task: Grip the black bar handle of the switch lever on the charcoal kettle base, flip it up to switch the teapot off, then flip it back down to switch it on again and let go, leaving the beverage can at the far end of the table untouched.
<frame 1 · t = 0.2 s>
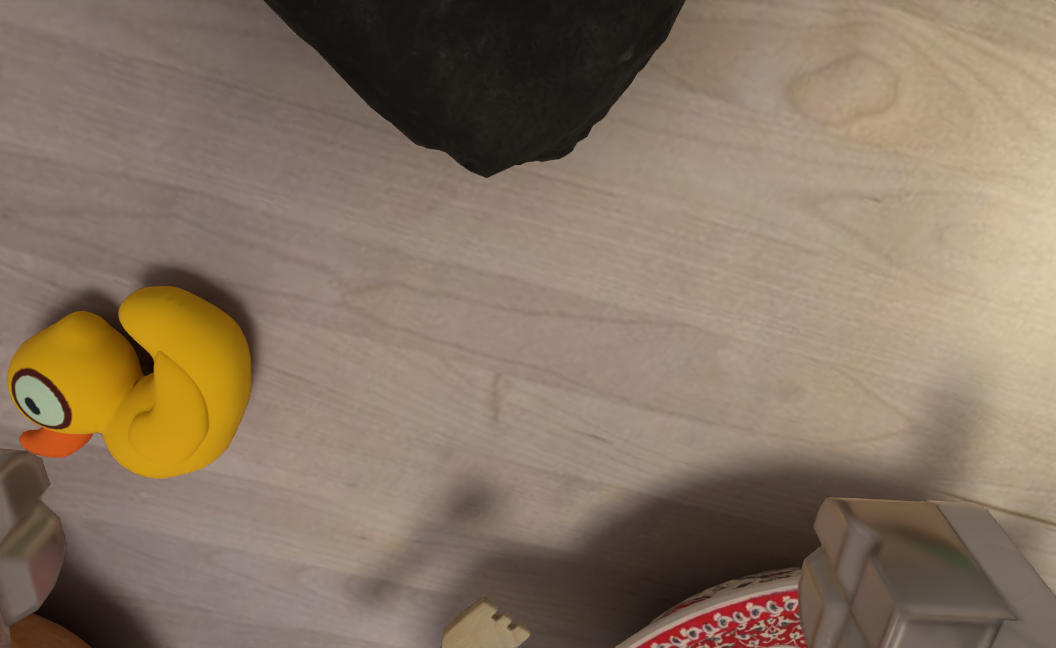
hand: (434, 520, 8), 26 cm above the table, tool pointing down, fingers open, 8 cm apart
duckling: (239, 433, 36), point 3 cm above the table
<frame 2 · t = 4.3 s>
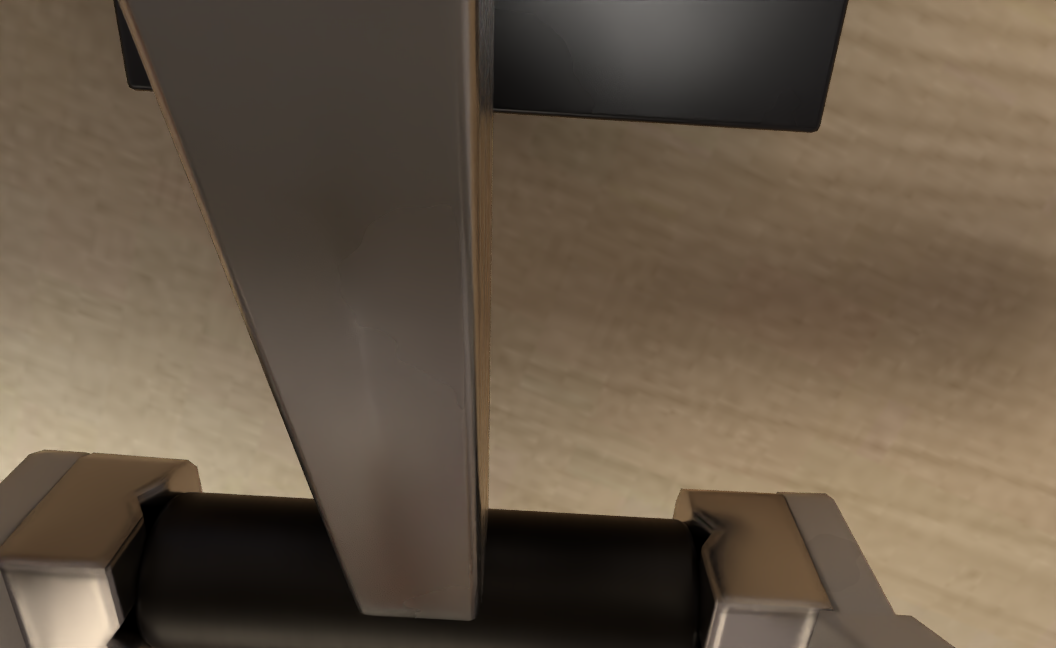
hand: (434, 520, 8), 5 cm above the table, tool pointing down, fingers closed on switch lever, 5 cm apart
switch lever: (355, 127, 3), point 8 cm above the table, hinge at -25.0°, touching gripper
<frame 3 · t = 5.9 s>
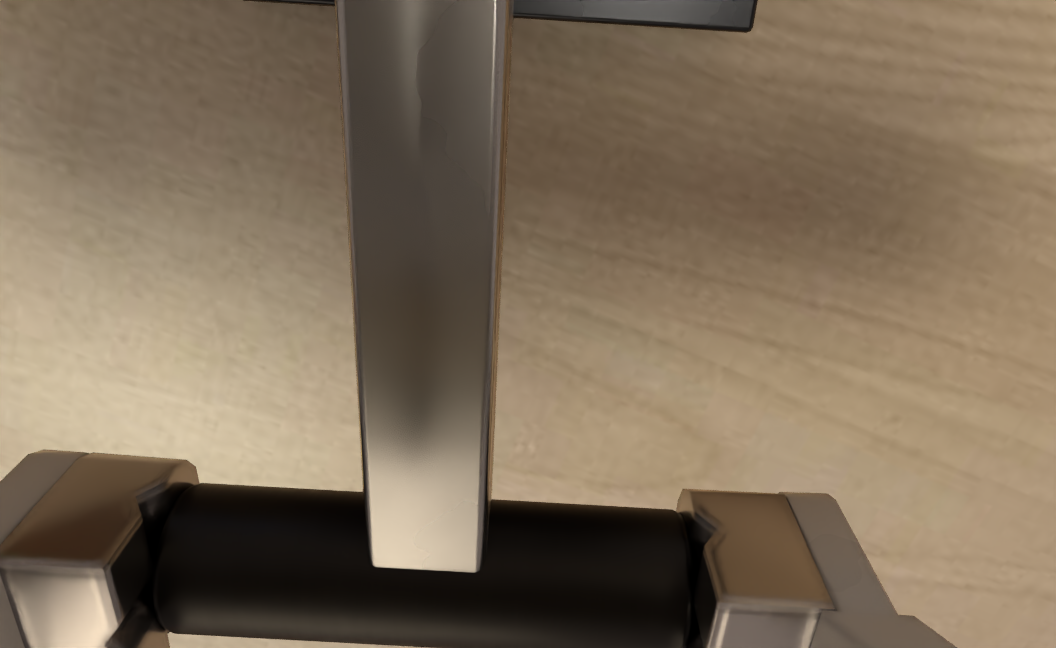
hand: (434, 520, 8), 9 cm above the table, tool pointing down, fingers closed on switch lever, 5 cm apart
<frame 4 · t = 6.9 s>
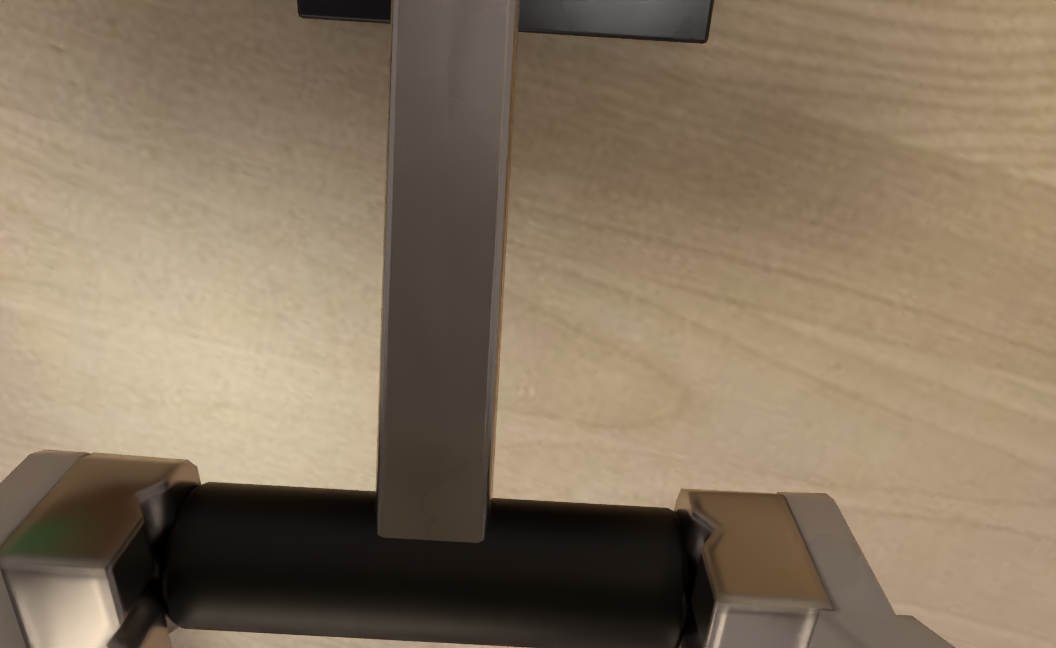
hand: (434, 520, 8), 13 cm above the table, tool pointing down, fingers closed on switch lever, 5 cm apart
switch lever: (458, 25, 7), point 11 cm above the table, hinge at 17.8°, touching gripper
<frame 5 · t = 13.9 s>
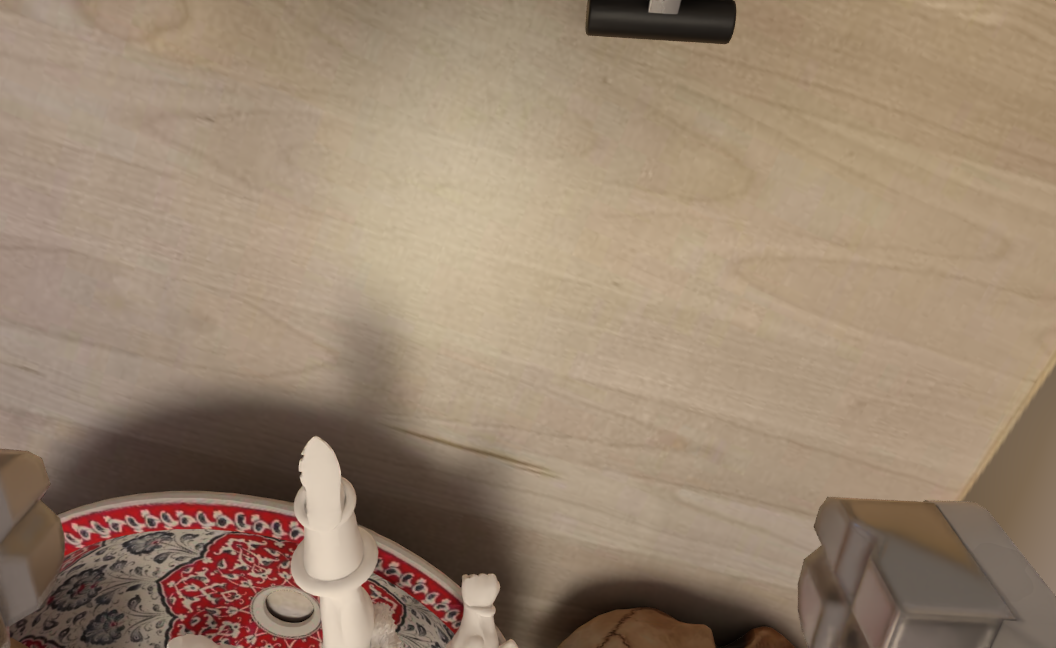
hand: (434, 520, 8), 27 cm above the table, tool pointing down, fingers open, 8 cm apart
figurine: (165, 615, 27), point 14 cm above the table, touching ceramic bowl
ceramic bowl: (291, 600, 46), on the table, touching figurine, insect, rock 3, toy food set
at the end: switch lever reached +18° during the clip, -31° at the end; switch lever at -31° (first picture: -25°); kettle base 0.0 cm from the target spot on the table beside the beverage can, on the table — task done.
